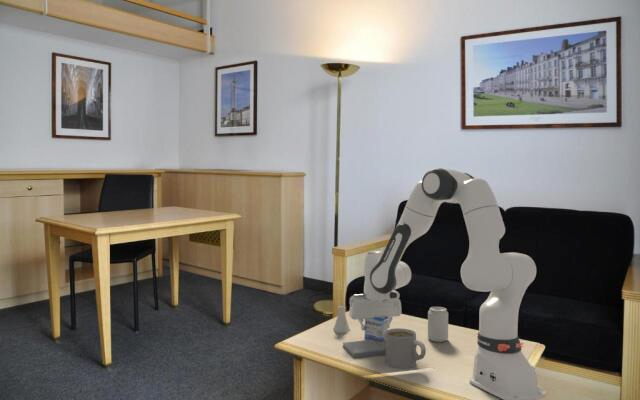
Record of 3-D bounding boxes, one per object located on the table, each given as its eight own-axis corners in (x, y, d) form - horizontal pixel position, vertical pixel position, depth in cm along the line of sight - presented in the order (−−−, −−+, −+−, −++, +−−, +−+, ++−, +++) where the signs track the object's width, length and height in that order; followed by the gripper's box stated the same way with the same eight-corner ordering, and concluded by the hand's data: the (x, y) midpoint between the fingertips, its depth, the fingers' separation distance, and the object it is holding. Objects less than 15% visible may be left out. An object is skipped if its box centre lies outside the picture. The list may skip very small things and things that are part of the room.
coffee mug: (379, 362, 166) (379, 332, 165) (397, 355, 173) (397, 326, 172) (413, 373, 156) (413, 341, 156) (430, 365, 163) (431, 334, 163)
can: (446, 336, 193) (446, 306, 193) (449, 343, 186) (449, 310, 185) (426, 336, 194) (426, 305, 194) (428, 342, 187) (429, 310, 186)
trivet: (387, 354, 174) (387, 350, 173) (354, 357, 170) (354, 353, 170) (374, 343, 185) (374, 339, 185) (343, 346, 182) (343, 342, 182)
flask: (349, 335, 195) (349, 310, 195) (331, 334, 197) (331, 309, 196) (351, 330, 202) (351, 305, 202) (334, 329, 204) (334, 304, 203)
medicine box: (364, 338, 191) (364, 315, 191) (368, 335, 195) (368, 313, 195) (383, 341, 188) (384, 318, 188) (387, 338, 192) (387, 315, 192)
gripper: (352, 296, 185) (352, 333, 186) (403, 293, 191) (403, 329, 191) (346, 292, 191) (346, 328, 192) (396, 289, 197) (396, 324, 198)
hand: (375, 329), depth 192 cm, fingers closed on medicine box, 8 cm apart
